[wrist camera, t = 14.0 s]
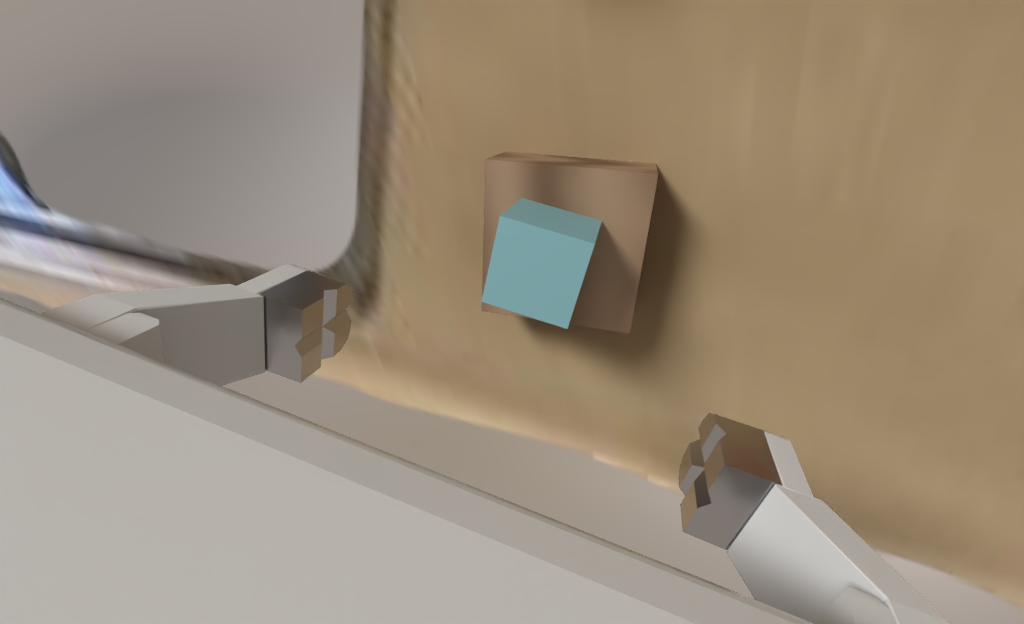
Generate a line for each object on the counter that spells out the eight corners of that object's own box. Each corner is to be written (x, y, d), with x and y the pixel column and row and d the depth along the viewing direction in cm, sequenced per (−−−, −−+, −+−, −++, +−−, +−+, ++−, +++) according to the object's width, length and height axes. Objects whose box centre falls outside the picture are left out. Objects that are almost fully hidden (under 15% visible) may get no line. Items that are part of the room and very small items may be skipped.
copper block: (655, 163, 30) (658, 174, 25) (631, 303, 34) (629, 333, 30) (506, 151, 32) (485, 159, 27) (501, 285, 36) (481, 310, 32)
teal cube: (602, 220, 27) (594, 243, 23) (577, 295, 30) (567, 329, 25) (521, 197, 28) (499, 215, 23) (504, 272, 30) (481, 301, 26)
